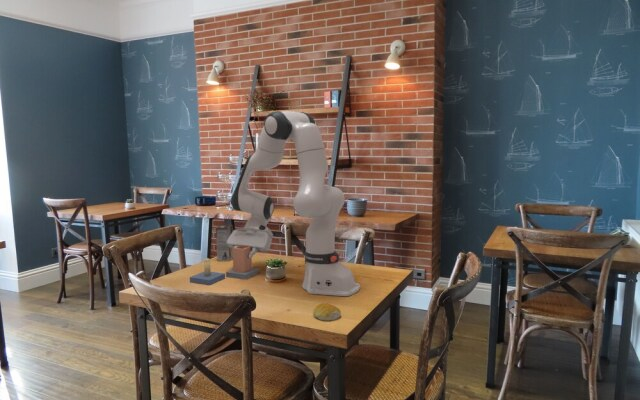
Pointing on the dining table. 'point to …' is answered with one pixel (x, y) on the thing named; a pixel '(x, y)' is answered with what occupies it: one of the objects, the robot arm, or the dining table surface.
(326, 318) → the bread roll
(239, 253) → the sleeve
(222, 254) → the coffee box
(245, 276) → the stand
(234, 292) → the dining table surface
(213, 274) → the peg base
